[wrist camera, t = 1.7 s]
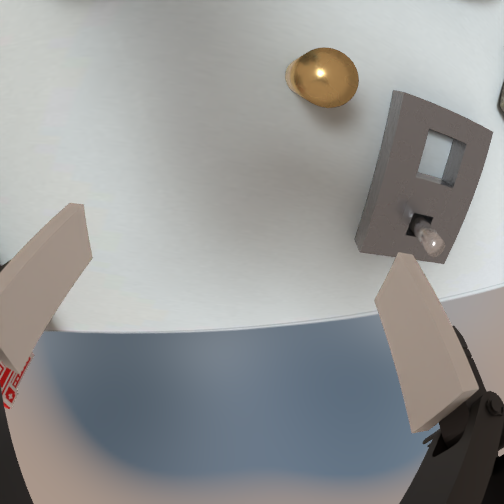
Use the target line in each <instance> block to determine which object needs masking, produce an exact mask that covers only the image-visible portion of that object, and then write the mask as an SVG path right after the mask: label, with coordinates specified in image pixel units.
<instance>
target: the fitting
mask: <svg viewBox="0 0 504 504" xmlns="http://www.w3.org/2000/svg"><path fill="white" fill-rule="evenodd" d="M285 79H286V82H287V85H288V86H289V88H290V89H291V90H292V91H293V92H295V93H296V94H298V95H300V96H301V97H303V98H305V99H306V100H308V101H309V102H311V103H313V104H315V105H317V106H320V107H326V108H333V107H338V106H341V105H343V104H345V103H347V102H348V101H349V100H350V99H351V98H352V97H353V96H354V94H355V93H356V90H357V88H358V82H359V78H358V72H357V69H356V67H355V65H354V64H353V62H352V61H351V60H350V58H349V57H347V56H346V55H345V54H344V53H342V52H340V51H338V50H335V49H332V48H317V49H314V50H311V51H309V52H307V53H306V54H304V55H303V56H301V57H299V58H298V59H296V60H294V61H293V62H292V63H291V64H290V65H289V66H288V67H287V70H286V73H285Z"/></svg>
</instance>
